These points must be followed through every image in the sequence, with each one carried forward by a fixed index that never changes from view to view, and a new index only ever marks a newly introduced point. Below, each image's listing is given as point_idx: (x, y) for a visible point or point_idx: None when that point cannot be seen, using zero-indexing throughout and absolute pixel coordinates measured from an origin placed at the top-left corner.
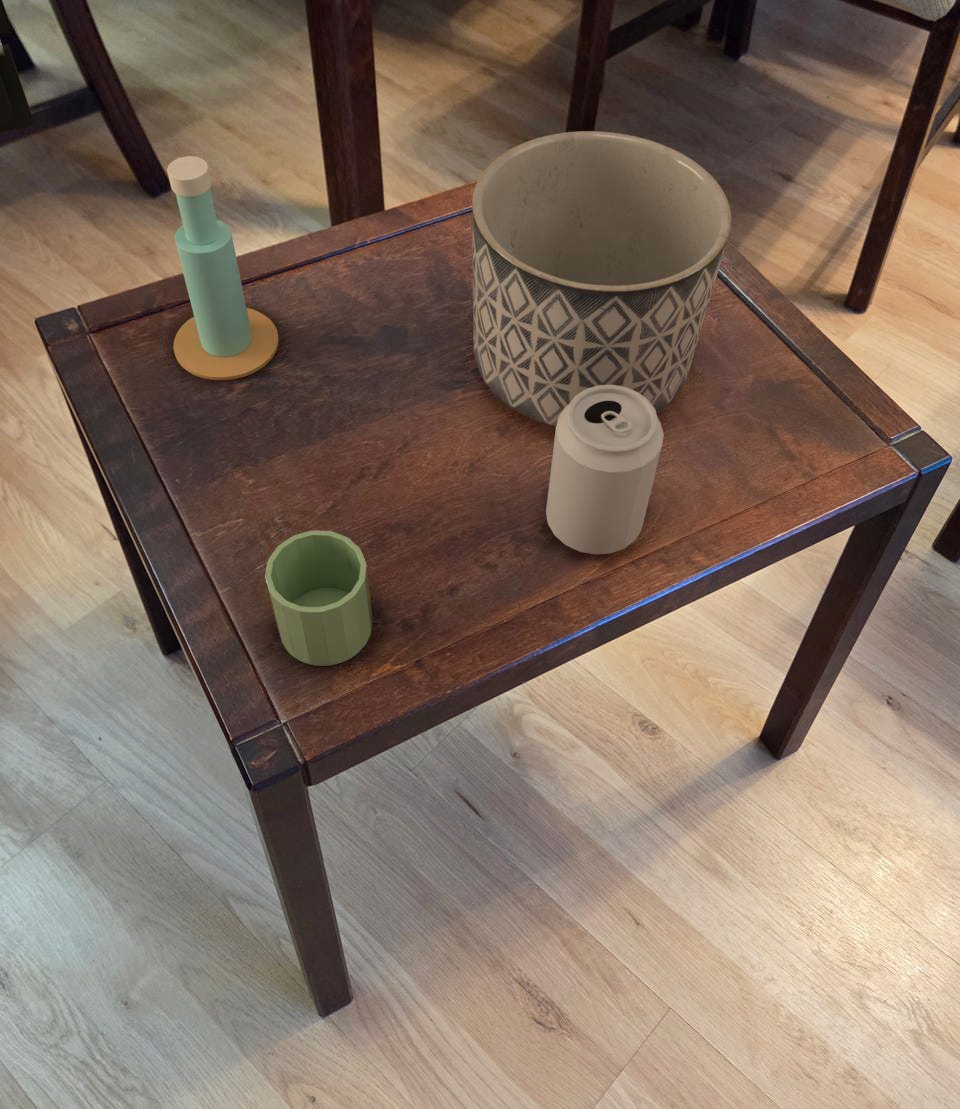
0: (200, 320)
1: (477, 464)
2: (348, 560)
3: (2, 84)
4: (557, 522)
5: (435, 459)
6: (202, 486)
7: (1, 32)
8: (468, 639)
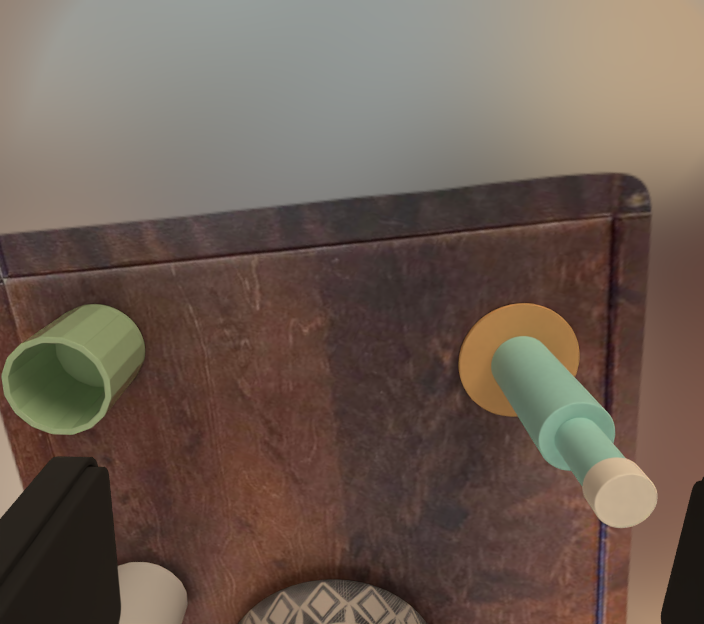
0: (522, 358)
1: (247, 529)
2: (97, 409)
3: None
4: (122, 577)
5: (267, 498)
6: (317, 282)
7: (665, 606)
8: (51, 455)
